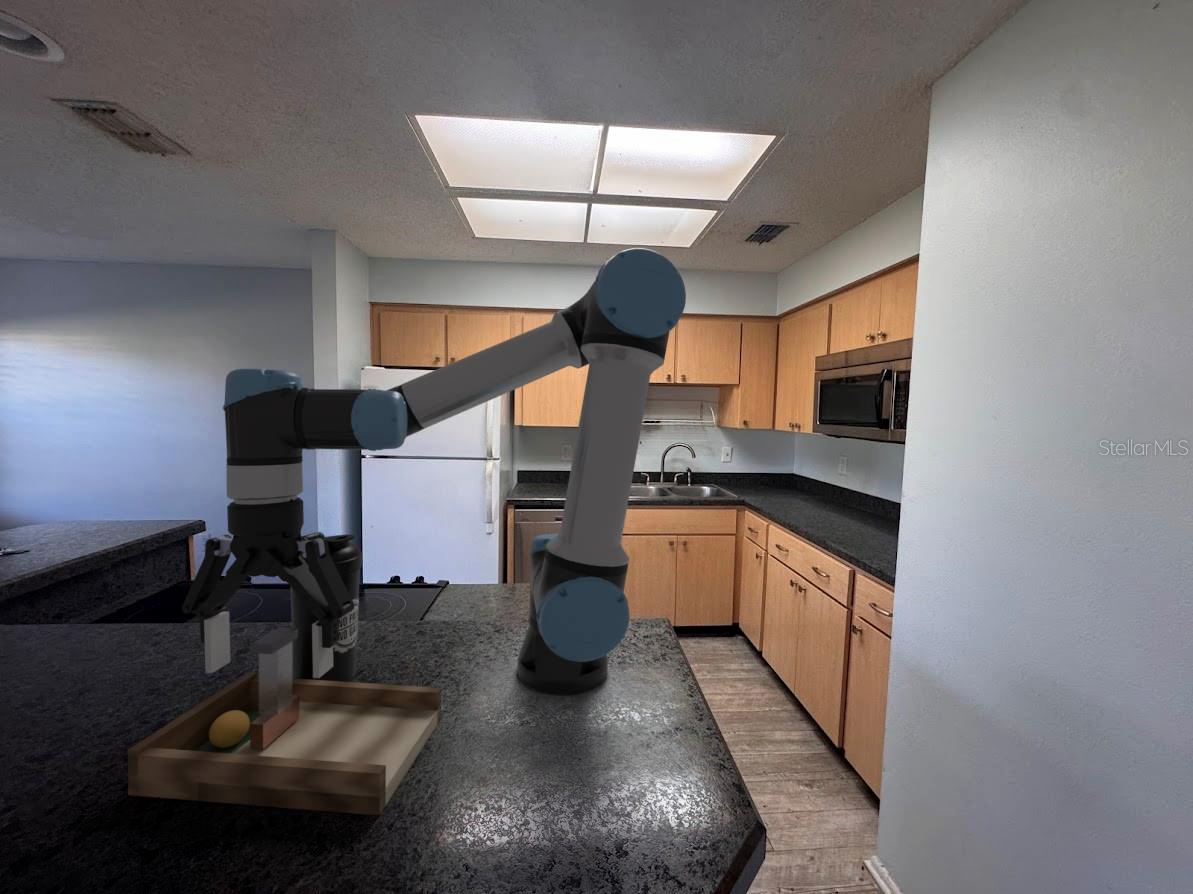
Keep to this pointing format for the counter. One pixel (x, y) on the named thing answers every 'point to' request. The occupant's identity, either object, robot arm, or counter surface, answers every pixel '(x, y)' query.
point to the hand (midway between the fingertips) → (270, 670)
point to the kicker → (274, 687)
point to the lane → (293, 748)
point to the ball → (229, 729)
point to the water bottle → (345, 649)
